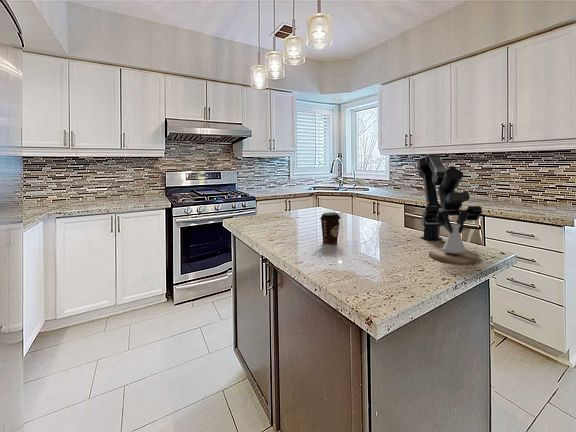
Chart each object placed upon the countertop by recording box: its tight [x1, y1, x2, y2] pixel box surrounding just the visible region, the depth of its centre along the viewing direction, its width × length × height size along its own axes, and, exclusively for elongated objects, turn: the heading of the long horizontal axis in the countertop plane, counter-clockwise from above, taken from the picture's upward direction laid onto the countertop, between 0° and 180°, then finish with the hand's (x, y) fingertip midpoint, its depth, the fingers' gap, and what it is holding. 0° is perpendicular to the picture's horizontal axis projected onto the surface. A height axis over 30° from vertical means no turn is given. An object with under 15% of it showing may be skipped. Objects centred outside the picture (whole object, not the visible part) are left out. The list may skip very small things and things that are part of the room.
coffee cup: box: [319, 212, 341, 246], centre depth 135 cm, size 9×8×13 cm
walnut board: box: [428, 247, 481, 265], centre depth 113 cm, size 16×16×1 cm
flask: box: [442, 223, 466, 253], centre depth 112 cm, size 7×7×10 cm
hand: (456, 232), depth 110 cm, fingers closed on flask, 3 cm apart
